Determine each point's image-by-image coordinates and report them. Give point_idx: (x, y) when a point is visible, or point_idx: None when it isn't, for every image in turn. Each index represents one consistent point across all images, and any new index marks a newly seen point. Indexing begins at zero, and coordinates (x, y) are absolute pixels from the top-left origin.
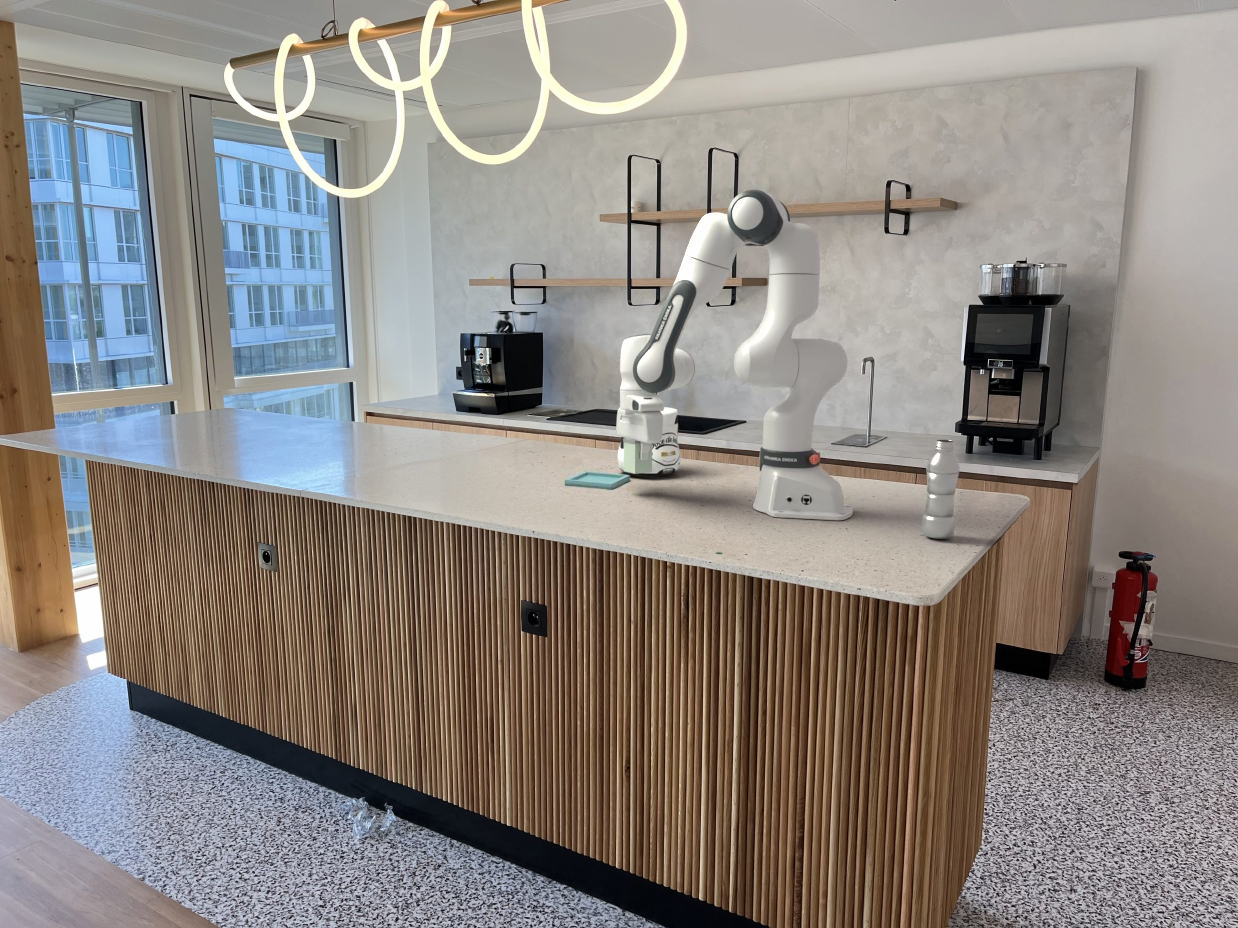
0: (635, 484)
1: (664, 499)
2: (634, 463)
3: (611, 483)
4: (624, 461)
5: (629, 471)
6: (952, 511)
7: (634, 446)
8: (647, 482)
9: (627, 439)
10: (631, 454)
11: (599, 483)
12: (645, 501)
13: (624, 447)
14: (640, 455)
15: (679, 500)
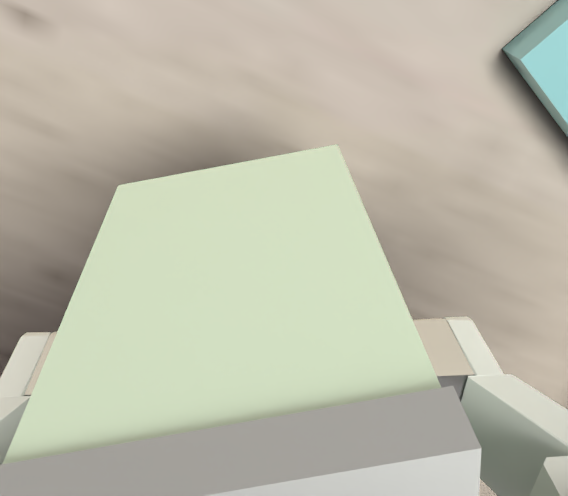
0: (553, 273)
1: (58, 262)
2: (109, 241)
3: (541, 70)
4: (338, 197)
5: (225, 171)
6: None
7: (39, 417)
8: (558, 350)
9: (283, 476)
10: (165, 295)
11: None
12: (10, 126)
13: (386, 319)
14: (38, 365)
15: (17, 323)
